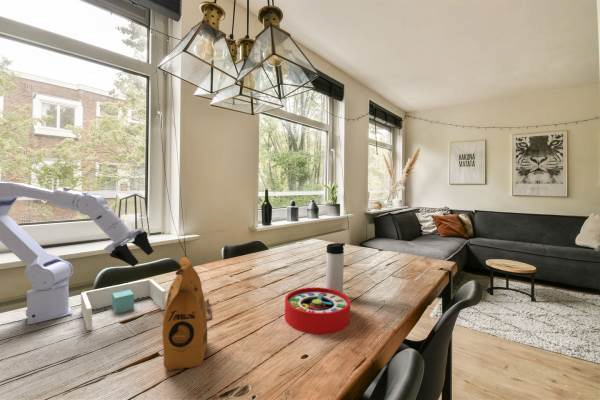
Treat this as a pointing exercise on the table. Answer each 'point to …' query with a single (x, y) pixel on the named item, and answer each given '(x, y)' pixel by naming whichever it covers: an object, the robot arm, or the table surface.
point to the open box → (104, 295)
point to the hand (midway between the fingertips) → (143, 258)
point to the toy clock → (317, 310)
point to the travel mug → (335, 266)
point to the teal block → (122, 301)
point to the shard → (207, 309)
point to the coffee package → (184, 320)
